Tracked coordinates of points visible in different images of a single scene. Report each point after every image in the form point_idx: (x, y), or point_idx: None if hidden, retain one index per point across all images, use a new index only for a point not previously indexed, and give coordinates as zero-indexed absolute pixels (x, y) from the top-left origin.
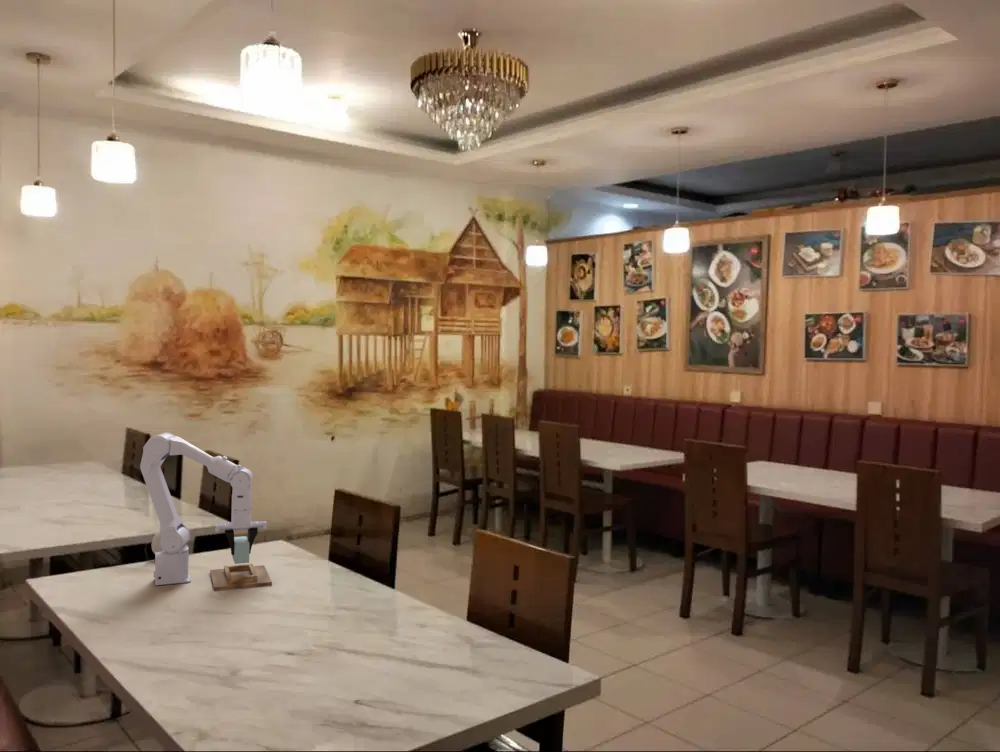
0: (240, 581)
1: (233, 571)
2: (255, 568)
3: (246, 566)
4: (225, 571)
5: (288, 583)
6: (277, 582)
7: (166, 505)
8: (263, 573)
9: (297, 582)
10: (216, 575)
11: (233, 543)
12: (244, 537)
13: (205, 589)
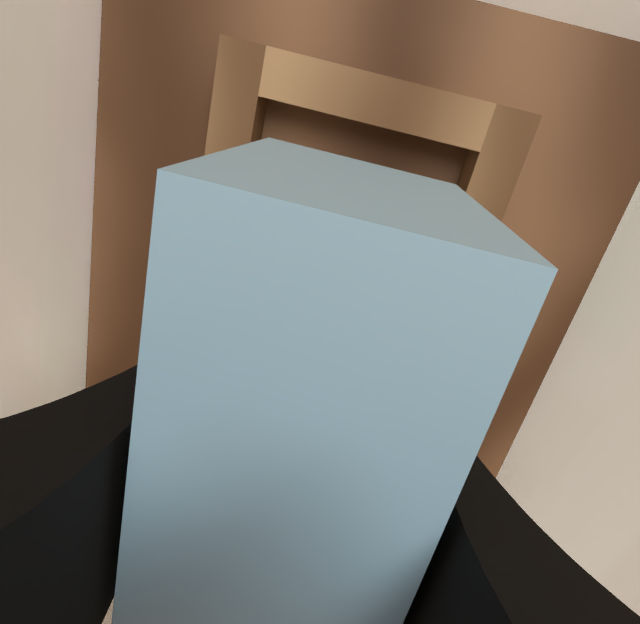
0: None
1: (315, 120)
2: (549, 139)
3: (452, 142)
4: None
5: (573, 543)
6: (525, 491)
7: None
8: None
9: (634, 556)
10: (138, 168)
11: (104, 595)
12: (437, 394)
13: (45, 372)
